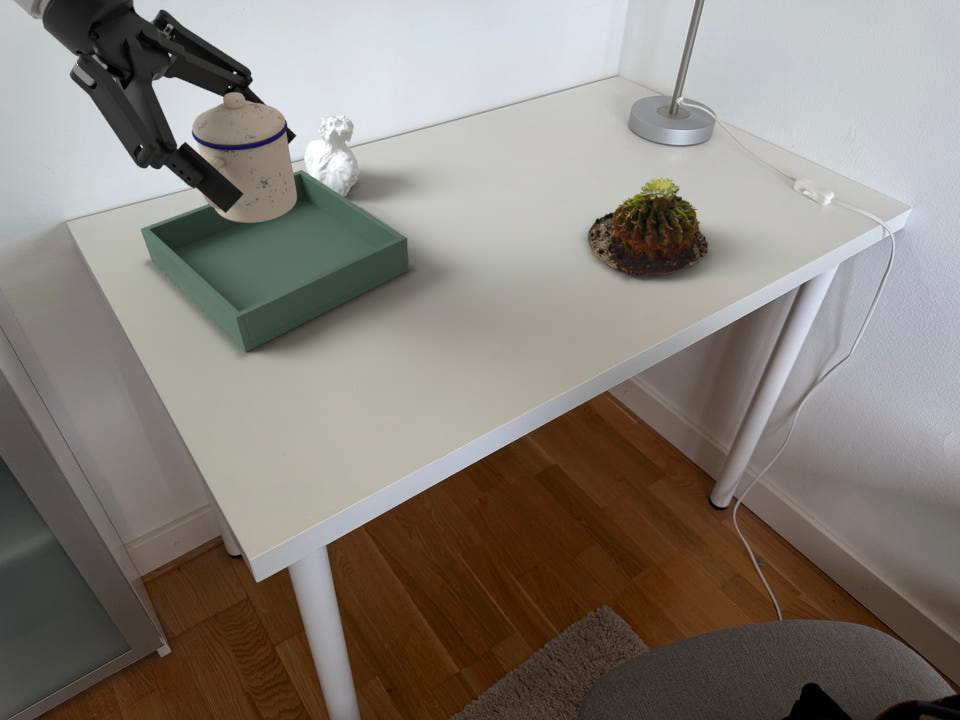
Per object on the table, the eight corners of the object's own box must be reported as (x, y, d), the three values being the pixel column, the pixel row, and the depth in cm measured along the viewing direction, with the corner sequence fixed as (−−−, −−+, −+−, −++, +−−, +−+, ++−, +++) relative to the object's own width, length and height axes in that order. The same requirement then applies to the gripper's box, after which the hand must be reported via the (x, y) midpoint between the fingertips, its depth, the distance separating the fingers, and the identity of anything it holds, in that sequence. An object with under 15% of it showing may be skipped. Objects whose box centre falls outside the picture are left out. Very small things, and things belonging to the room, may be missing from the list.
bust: (361, 212, 104) (394, 143, 101) (322, 197, 97) (357, 123, 95) (318, 182, 110) (348, 116, 107) (279, 166, 104) (311, 96, 101)
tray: (245, 352, 77) (236, 318, 74) (152, 261, 89) (140, 228, 86) (408, 270, 89) (407, 237, 86) (306, 200, 101) (301, 169, 98)
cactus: (635, 202, 104) (647, 140, 97) (729, 245, 96) (750, 181, 89) (561, 245, 94) (570, 180, 88) (658, 297, 86) (676, 230, 80)
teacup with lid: (241, 176, 78) (217, 72, 70) (314, 190, 76) (298, 84, 68) (178, 231, 69) (142, 119, 61) (258, 247, 68) (232, 135, 60)
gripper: (128, -14, 72) (290, 141, 80) (-46, 70, 54) (185, 257, 63) (160, -69, 67) (327, 101, 76) (-17, 3, 50) (226, 213, 58)
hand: (263, 172), depth 69 cm, fingers closed on teacup with lid, 12 cm apart
